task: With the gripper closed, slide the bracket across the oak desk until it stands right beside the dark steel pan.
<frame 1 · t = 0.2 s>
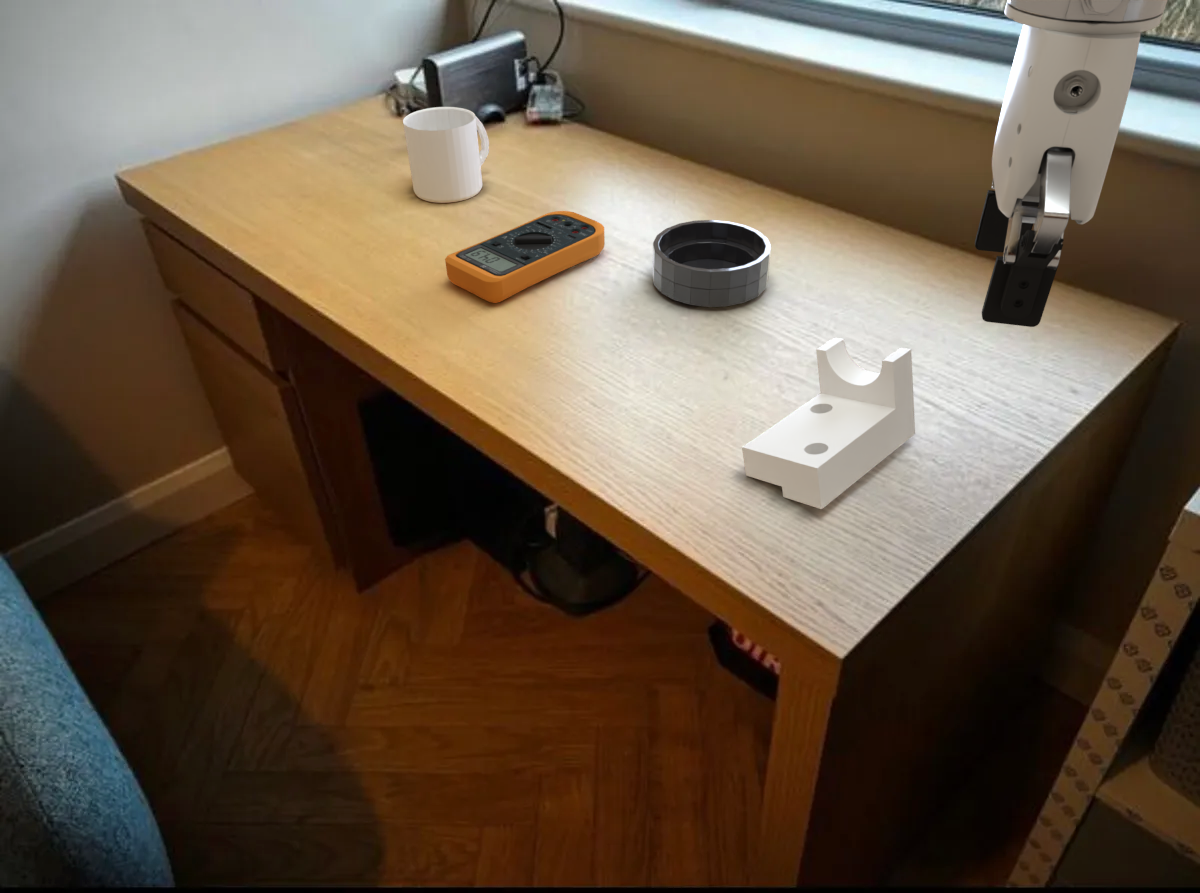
hand: (1003, 283, 57), 19 cm above the table, tool pointing down, fingers open, 9 cm apart
mug: (458, 188, 120), on the table
multimeter: (531, 269, 101), on the table
bracket: (822, 456, 74), on the table
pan: (709, 282, 97), on the table
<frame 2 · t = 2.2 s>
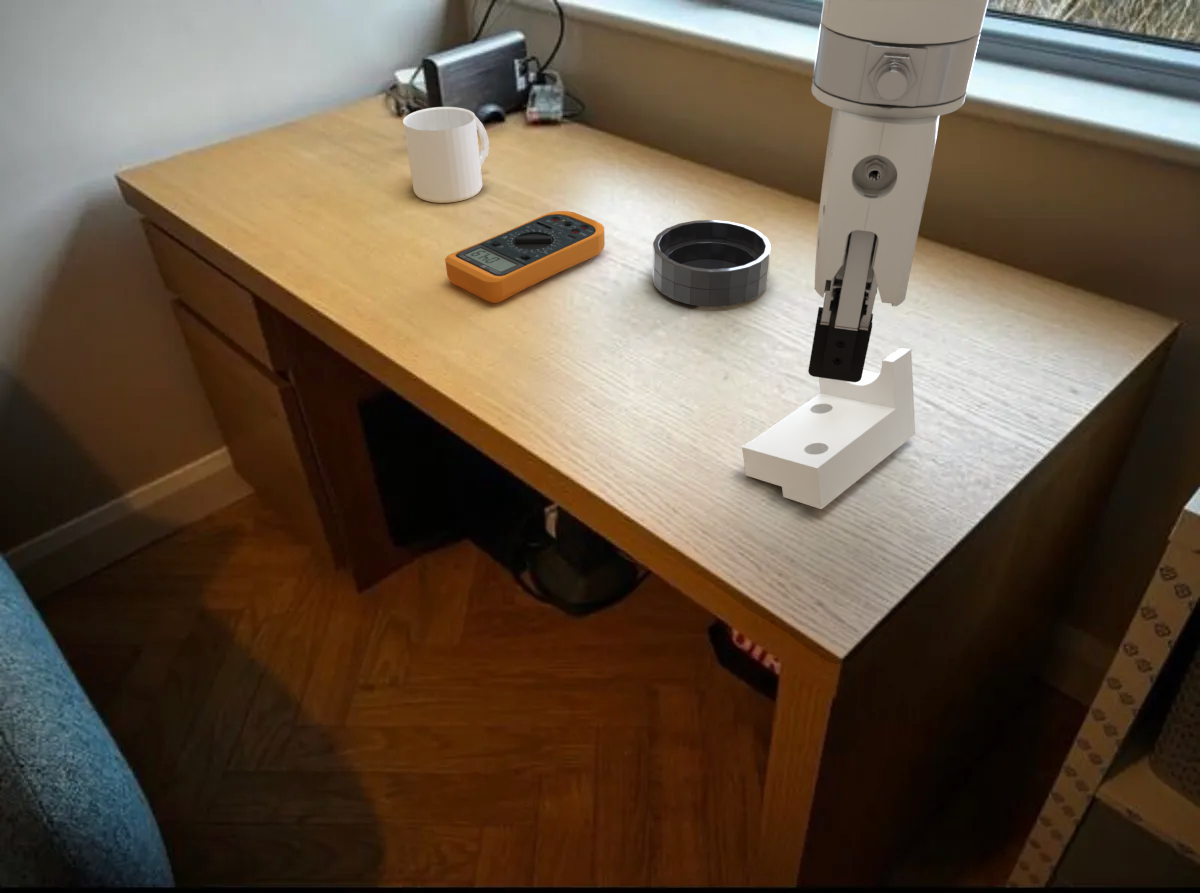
hand: (834, 371, 56), 15 cm above the table, tool pointing down, fingers closed
nothing on the table moved.
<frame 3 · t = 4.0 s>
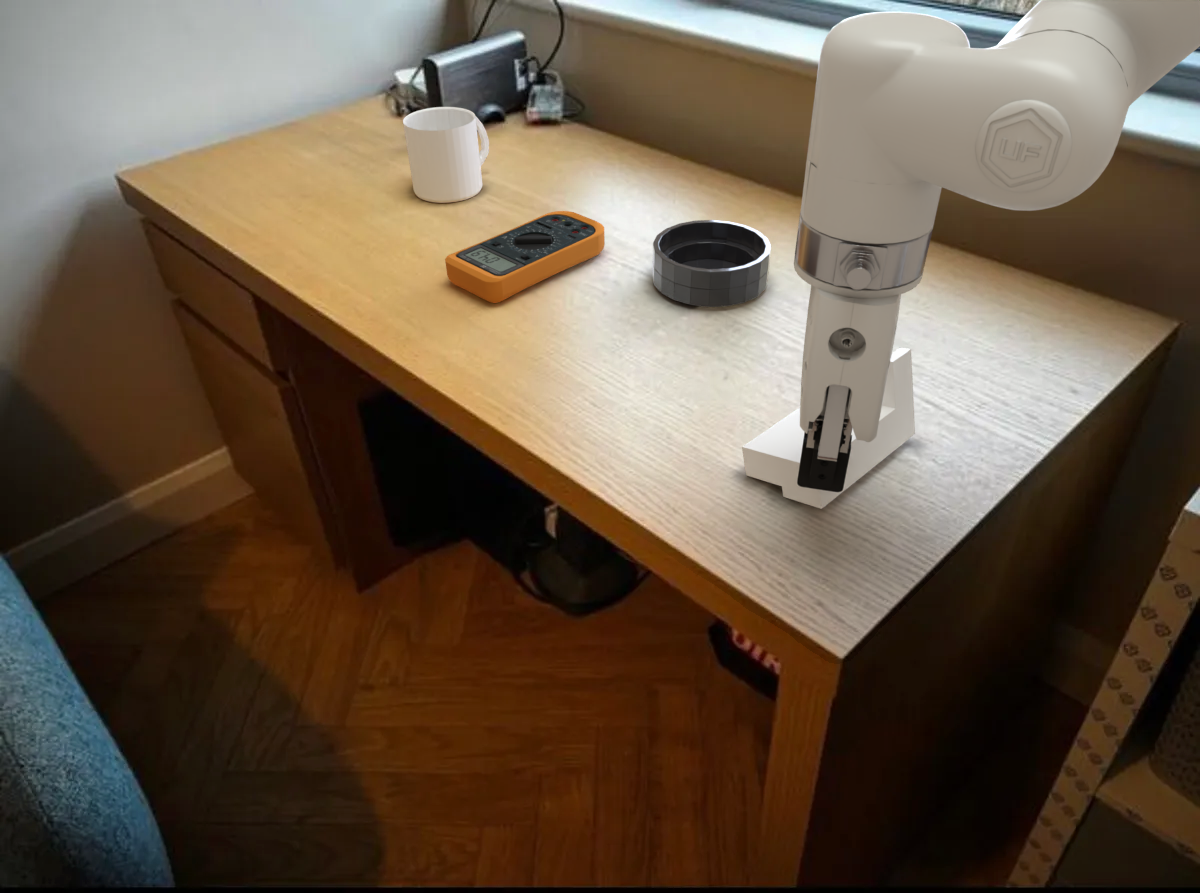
hand: (820, 482, 64), 4 cm above the table, tool pointing down, fingers closed
bracket: (822, 455, 74), on the table, touching gripper
everything else where it was.
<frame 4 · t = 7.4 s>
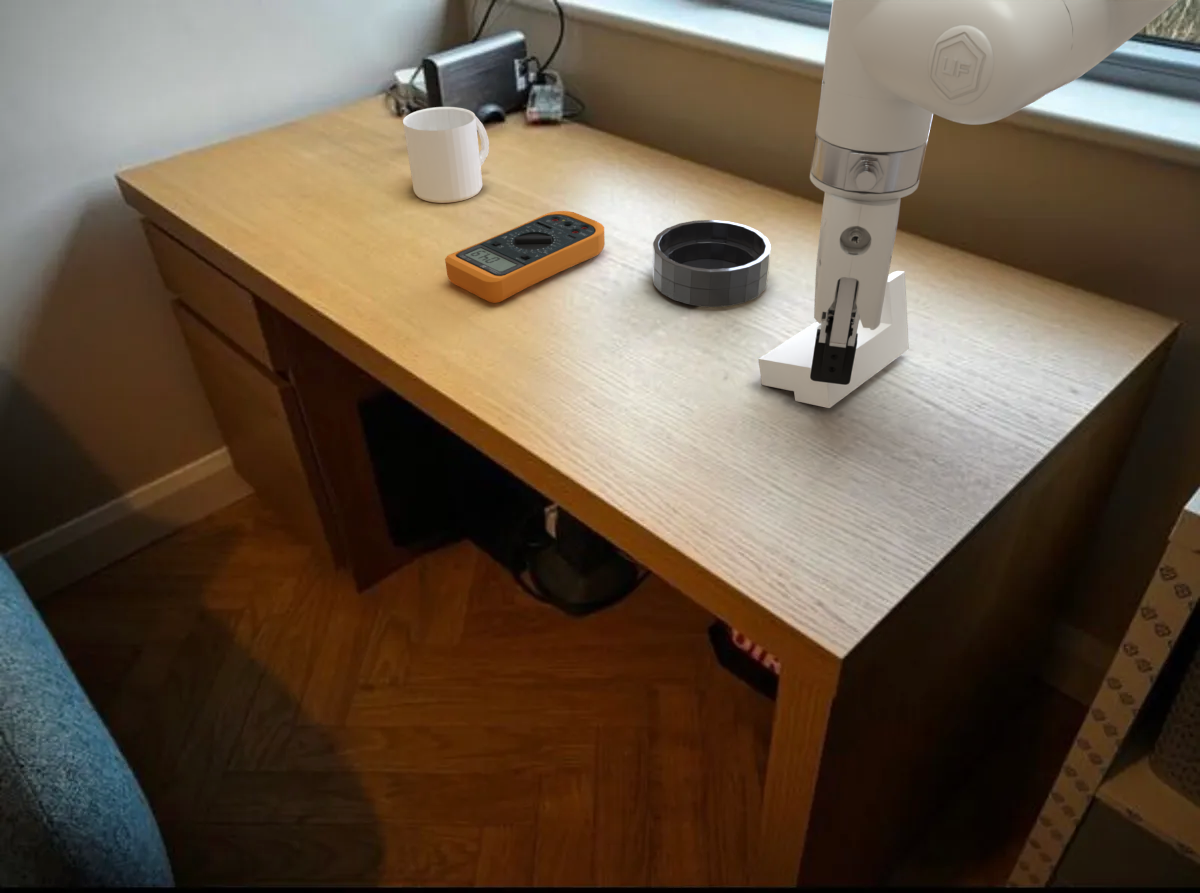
hand: (829, 377, 74), 4 cm above the table, tool pointing down, fingers closed
bracket: (827, 369, 84), on the table, touching gripper
everything else where it was.
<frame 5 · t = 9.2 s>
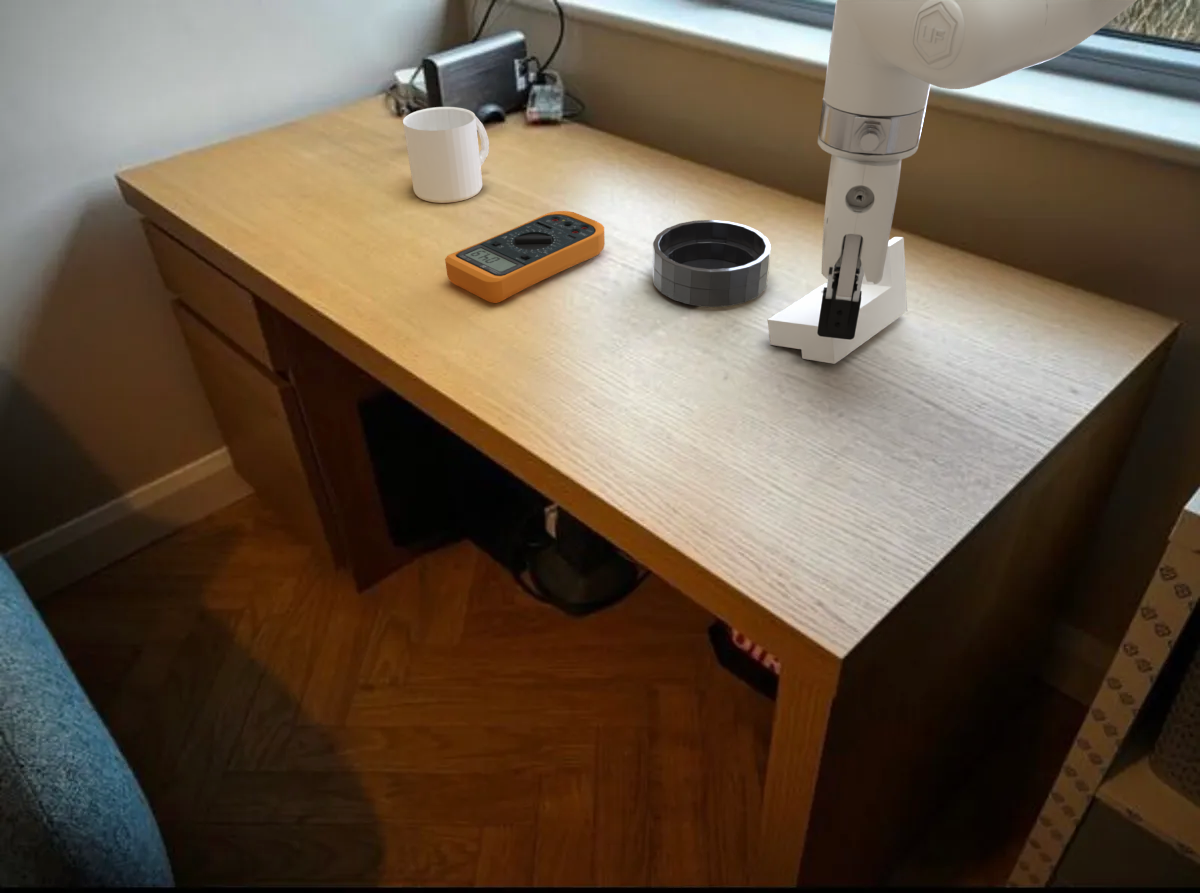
hand: (835, 333, 80), 4 cm above the table, tool pointing down, fingers closed
bracket: (831, 330, 89), on the table, touching gripper
everything else where it was.
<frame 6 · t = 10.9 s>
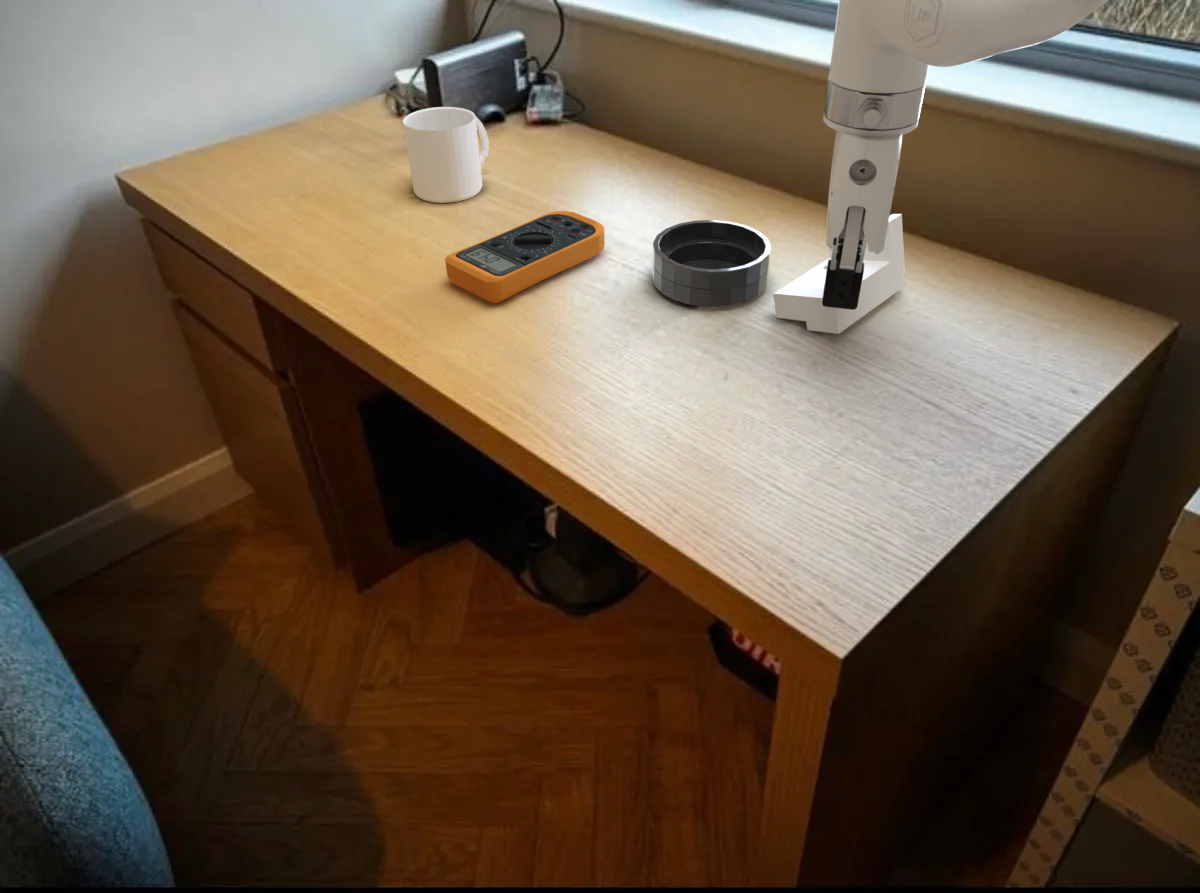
hand: (839, 303, 84), 4 cm above the table, tool pointing down, fingers closed
bracket: (833, 304, 93), on the table, touching gripper
everything else where it was.
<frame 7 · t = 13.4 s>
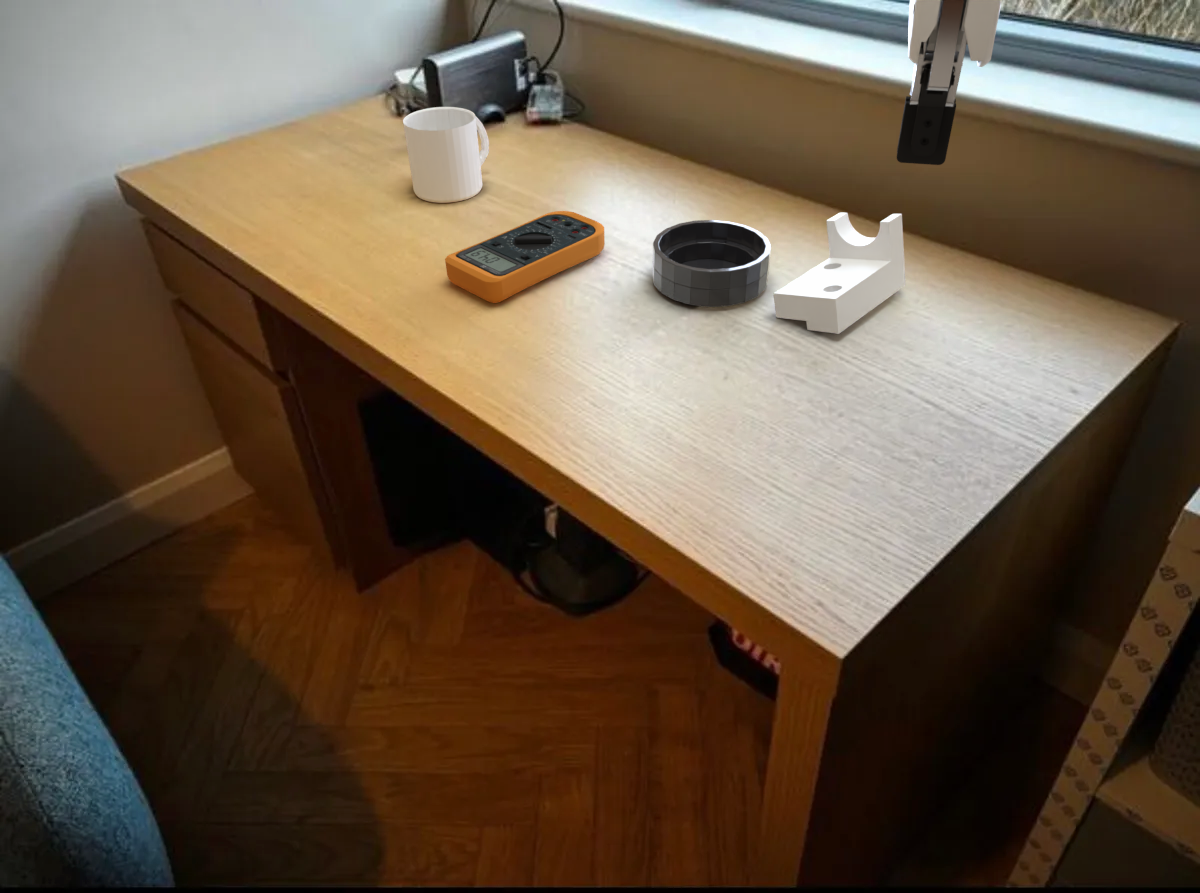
hand: (919, 159, 63), 23 cm above the table, tool pointing down, fingers closed
bracket: (833, 303, 93), on the table
everything else where it was.
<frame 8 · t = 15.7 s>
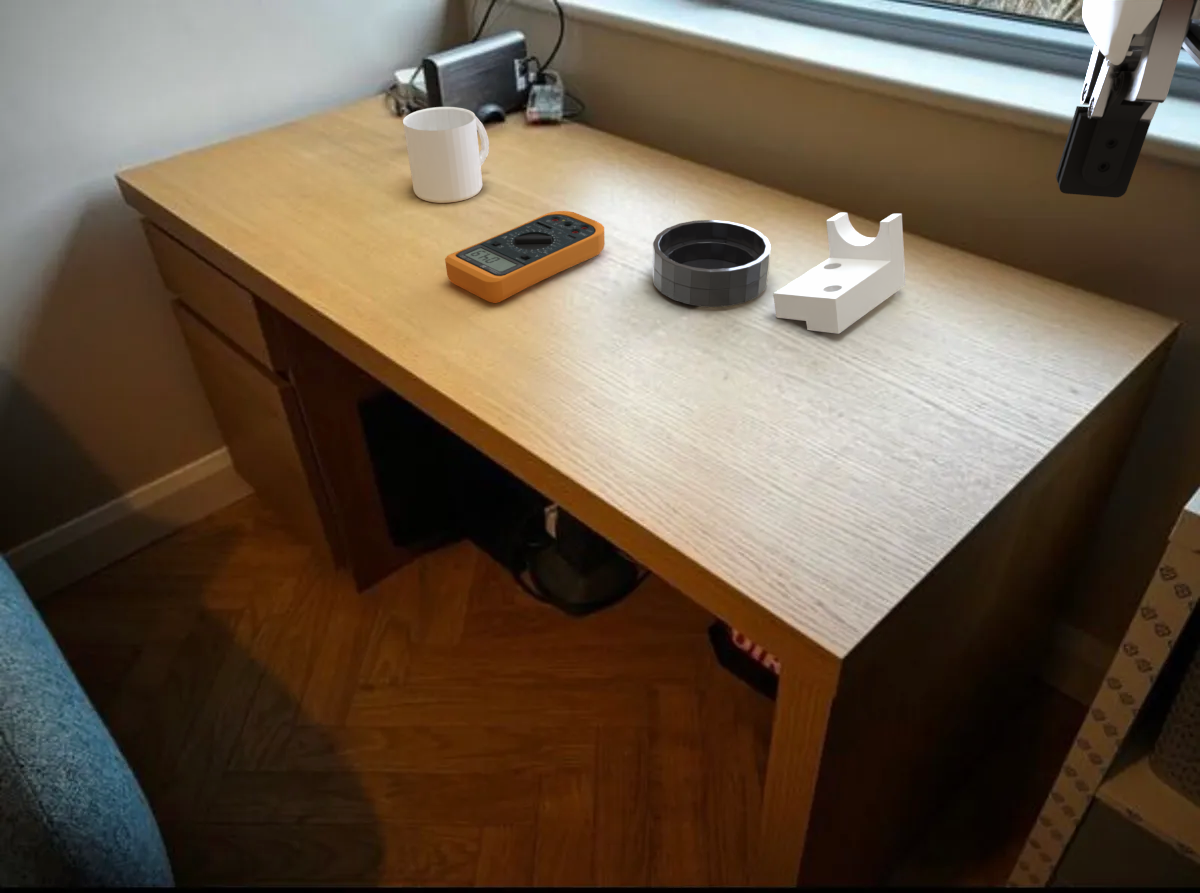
hand: (1088, 188, 48), 27 cm above the table, tool pointing down, fingers closed
nothing on the table moved.
at the end: bracket inside the target area on the table beside the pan (0.5 cm from its centre), on the table; bracket tilted 1°; bracket moved 25.7 cm from its start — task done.
